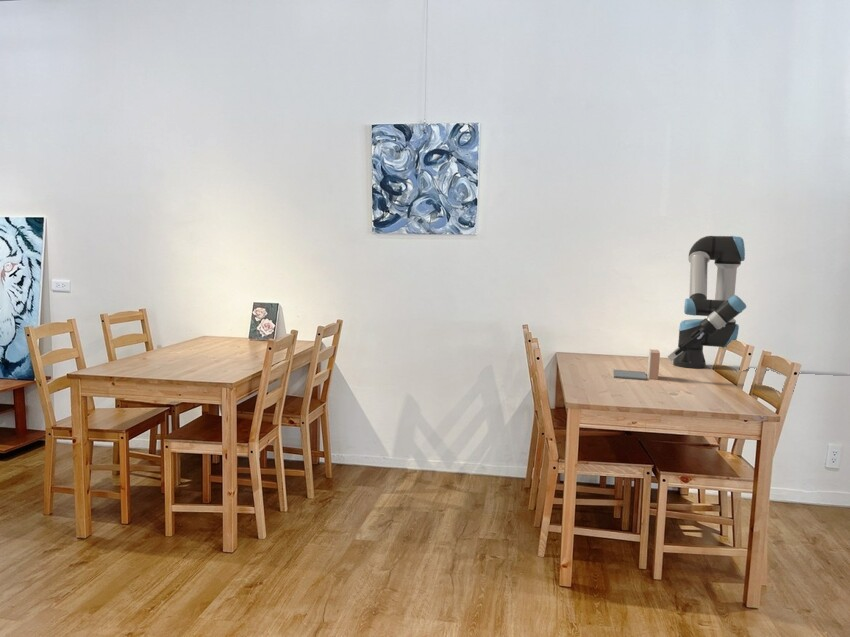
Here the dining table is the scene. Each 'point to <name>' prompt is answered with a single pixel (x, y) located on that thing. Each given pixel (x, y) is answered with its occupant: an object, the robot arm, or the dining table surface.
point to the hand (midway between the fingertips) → (669, 358)
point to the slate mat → (629, 374)
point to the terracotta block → (653, 364)
